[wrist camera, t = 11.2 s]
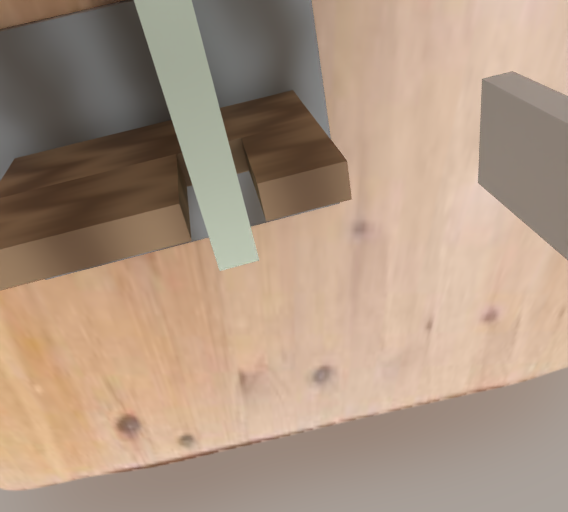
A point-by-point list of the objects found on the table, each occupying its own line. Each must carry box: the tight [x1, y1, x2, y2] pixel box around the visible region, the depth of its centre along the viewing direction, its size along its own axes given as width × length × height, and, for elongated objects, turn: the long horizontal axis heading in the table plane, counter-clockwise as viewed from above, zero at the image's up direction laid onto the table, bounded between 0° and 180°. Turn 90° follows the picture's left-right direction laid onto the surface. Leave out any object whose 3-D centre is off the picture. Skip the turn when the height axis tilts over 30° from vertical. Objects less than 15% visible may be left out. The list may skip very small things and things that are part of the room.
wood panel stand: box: [0, 0, 352, 290], centre depth 29 cm, size 22×16×13 cm
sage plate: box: [134, 0, 259, 271], centre depth 26 cm, size 15×2×12 cm, turn 11°
